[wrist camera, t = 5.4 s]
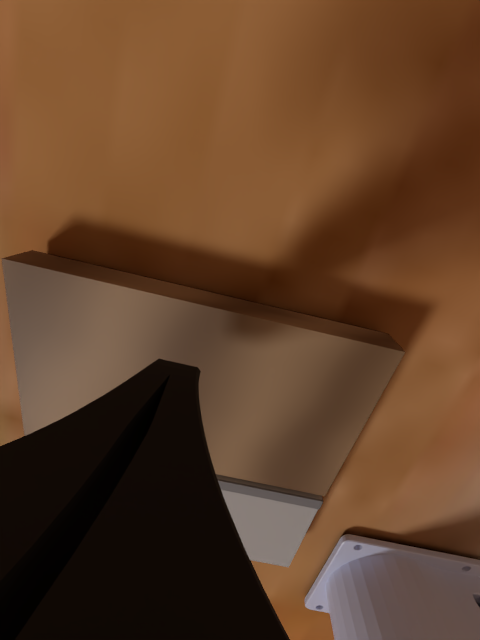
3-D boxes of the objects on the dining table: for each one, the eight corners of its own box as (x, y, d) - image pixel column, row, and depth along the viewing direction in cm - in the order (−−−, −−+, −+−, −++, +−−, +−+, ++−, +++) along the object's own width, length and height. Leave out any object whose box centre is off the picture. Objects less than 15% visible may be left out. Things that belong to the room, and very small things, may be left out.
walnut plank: (388, 333, 12) (405, 352, 11) (318, 469, 16) (324, 496, 14) (32, 250, 11) (1, 258, 10) (45, 412, 15) (24, 435, 14)
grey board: (316, 473, 16) (323, 502, 14) (285, 539, 18) (288, 569, 17) (46, 417, 15) (23, 440, 14) (49, 493, 17) (30, 520, 16)
